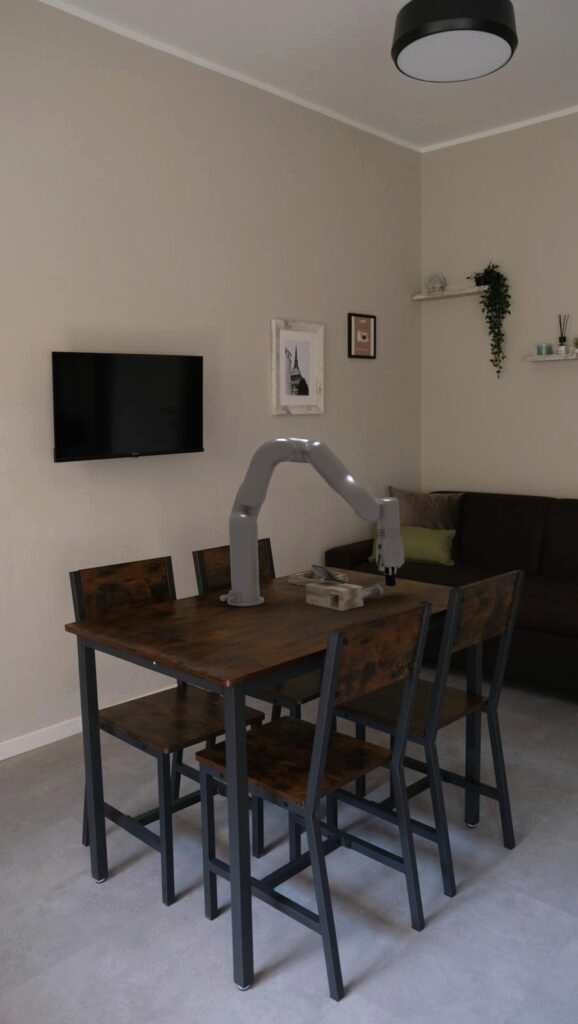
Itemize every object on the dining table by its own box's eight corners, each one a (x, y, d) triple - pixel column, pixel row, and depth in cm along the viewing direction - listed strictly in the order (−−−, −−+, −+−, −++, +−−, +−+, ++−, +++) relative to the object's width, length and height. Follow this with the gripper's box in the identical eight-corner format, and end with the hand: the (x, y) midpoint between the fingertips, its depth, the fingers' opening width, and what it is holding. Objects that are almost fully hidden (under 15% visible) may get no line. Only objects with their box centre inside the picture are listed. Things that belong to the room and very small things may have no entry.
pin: (353, 604, 274) (352, 591, 274) (343, 602, 277) (343, 589, 277) (384, 597, 284) (383, 584, 284) (374, 595, 287) (374, 582, 287)
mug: (331, 586, 311) (317, 563, 311) (313, 594, 317) (299, 572, 316) (340, 577, 317) (326, 555, 316) (322, 586, 323) (308, 564, 322)
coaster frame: (316, 588, 305) (316, 580, 305) (288, 583, 316) (288, 575, 316) (347, 582, 316) (347, 574, 315) (319, 577, 327) (319, 569, 327)
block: (342, 611, 269) (341, 587, 268) (306, 603, 282) (305, 581, 281) (363, 605, 276) (363, 583, 275) (327, 598, 288) (327, 576, 287)
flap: (325, 568, 275) (327, 566, 276) (311, 566, 281) (312, 564, 281) (341, 583, 281) (342, 581, 281) (326, 580, 286) (327, 578, 286)
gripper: (382, 537, 279) (384, 590, 281) (411, 531, 289) (412, 583, 291) (366, 535, 285) (367, 588, 287) (395, 530, 295) (396, 581, 297)
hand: (390, 585), depth 289 cm, fingers closed
